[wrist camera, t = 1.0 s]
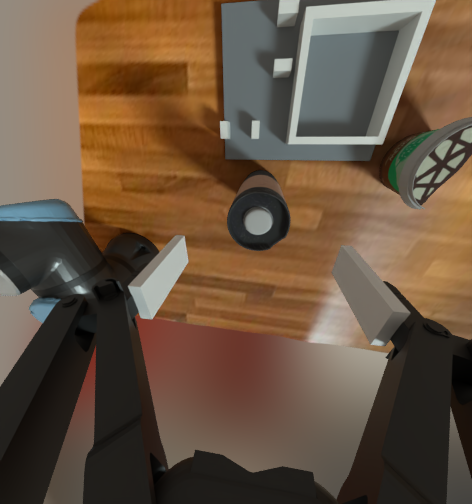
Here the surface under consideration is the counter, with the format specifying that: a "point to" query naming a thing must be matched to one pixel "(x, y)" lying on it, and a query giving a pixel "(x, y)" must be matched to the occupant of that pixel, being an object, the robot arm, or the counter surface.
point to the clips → (281, 66)
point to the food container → (426, 161)
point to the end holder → (359, 21)
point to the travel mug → (259, 213)
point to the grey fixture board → (314, 89)
